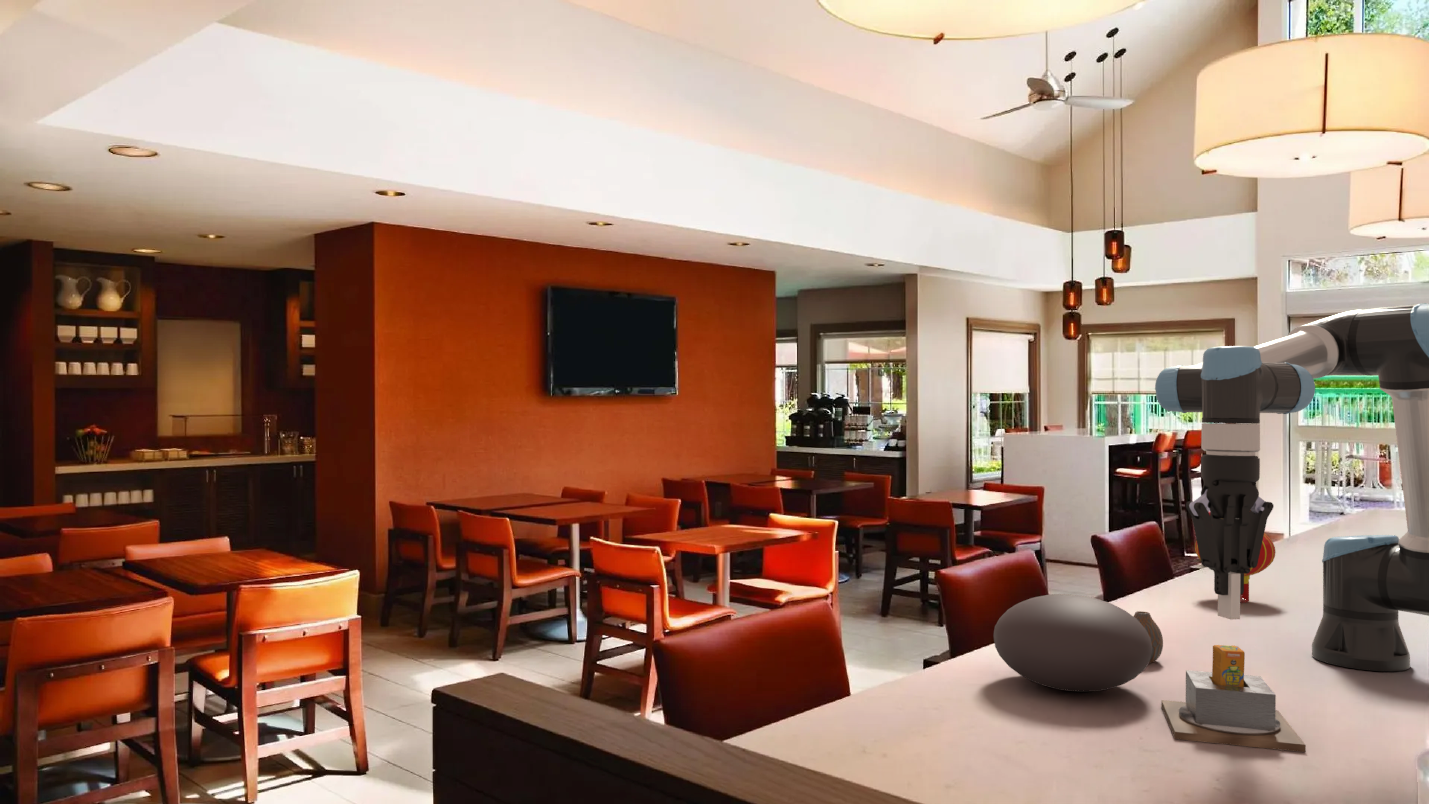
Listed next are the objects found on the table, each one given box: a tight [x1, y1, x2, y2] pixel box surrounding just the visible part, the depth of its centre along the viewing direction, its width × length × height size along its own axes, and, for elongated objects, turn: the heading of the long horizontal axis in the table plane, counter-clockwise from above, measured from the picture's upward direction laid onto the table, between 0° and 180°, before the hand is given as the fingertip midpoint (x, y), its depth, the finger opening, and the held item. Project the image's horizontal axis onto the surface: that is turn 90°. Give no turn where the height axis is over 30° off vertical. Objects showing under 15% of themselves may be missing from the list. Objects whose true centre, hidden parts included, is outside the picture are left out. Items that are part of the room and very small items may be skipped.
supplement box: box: [1211, 644, 1246, 687], centre depth 144 cm, size 3×3×10 cm
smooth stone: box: [993, 593, 1152, 692], centre depth 165 cm, size 25×25×15 cm
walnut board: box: [1160, 699, 1307, 753], centre depth 144 cm, size 16×16×1 cm
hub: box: [1179, 669, 1280, 736], centre depth 144 cm, size 13×13×6 cm
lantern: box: [1194, 518, 1277, 603], centre depth 242 cm, size 17×17×30 cm
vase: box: [1132, 610, 1164, 664], centre depth 183 cm, size 7×7×9 cm
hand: (1228, 617), depth 144 cm, fingers closed
